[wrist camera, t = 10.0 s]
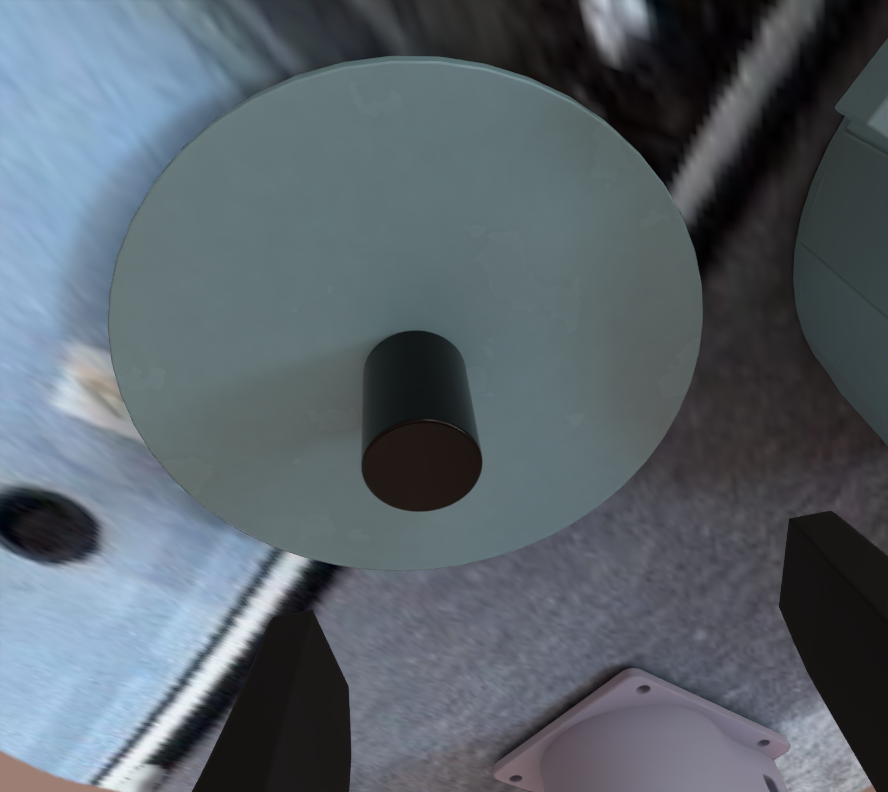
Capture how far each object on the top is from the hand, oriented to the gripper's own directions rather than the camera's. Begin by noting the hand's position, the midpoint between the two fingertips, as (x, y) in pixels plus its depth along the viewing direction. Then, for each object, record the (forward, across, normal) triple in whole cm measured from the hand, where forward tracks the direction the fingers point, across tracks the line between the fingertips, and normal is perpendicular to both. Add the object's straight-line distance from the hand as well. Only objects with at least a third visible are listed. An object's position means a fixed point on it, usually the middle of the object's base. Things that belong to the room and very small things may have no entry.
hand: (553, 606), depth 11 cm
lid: (+8, +2, 0) cm, 8 cm away
